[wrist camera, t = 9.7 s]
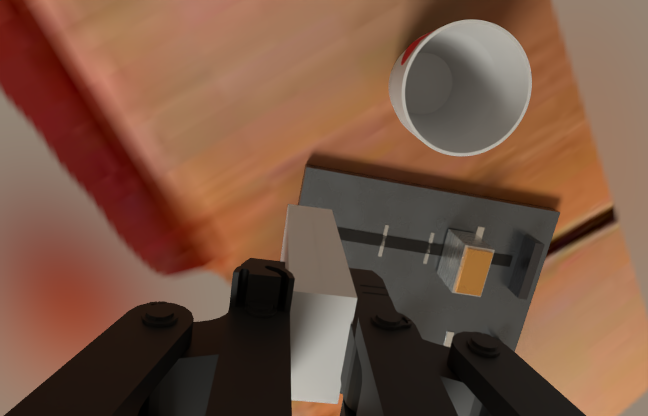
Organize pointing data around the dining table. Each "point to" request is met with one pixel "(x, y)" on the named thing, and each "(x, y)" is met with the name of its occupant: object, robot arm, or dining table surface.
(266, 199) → the dining table surface
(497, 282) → the console
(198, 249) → the dining table surface
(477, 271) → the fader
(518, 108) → the cup
